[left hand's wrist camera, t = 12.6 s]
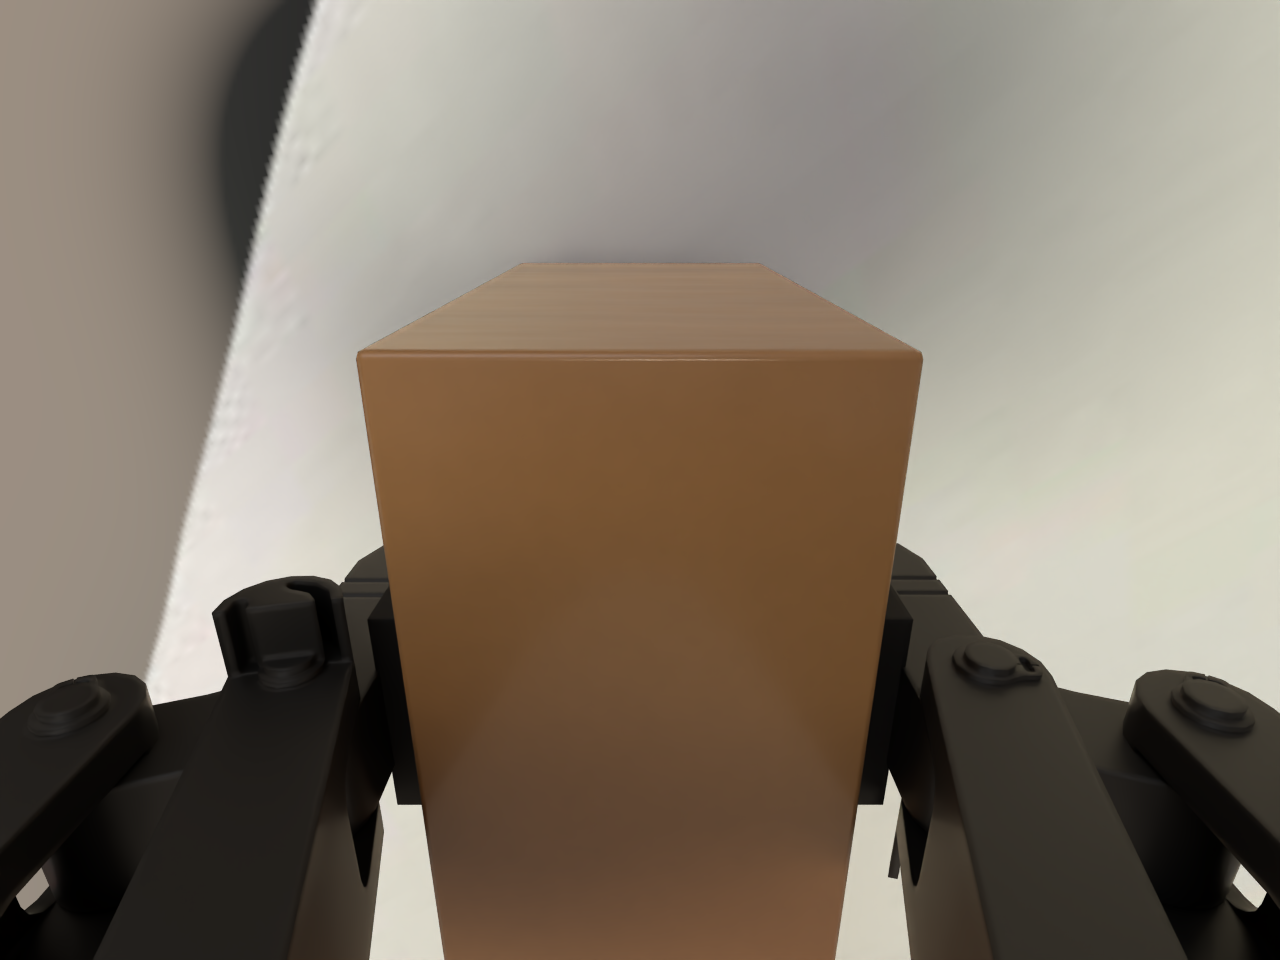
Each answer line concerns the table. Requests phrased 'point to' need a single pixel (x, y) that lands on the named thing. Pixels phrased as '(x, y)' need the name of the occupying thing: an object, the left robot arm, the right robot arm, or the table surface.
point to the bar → (639, 601)
